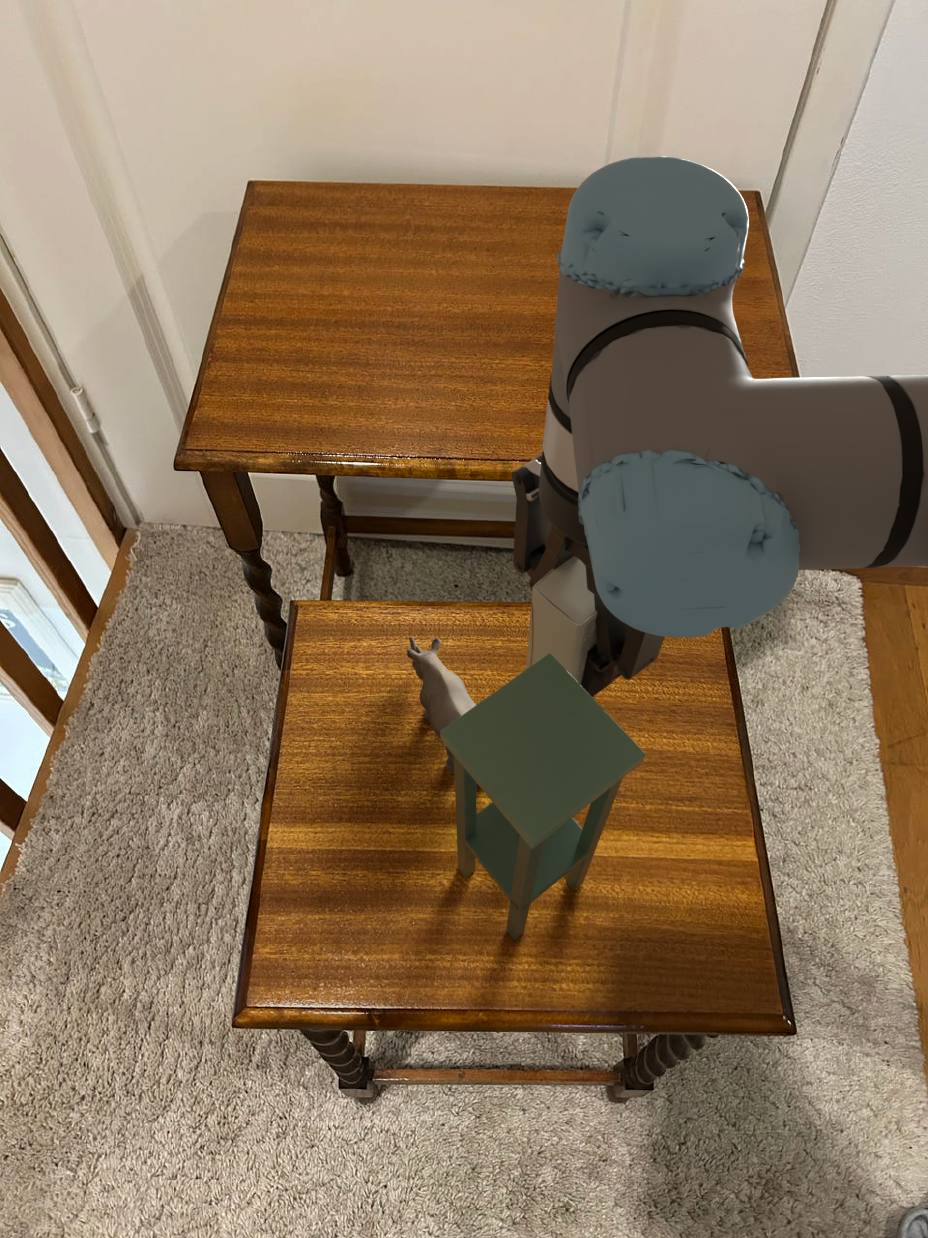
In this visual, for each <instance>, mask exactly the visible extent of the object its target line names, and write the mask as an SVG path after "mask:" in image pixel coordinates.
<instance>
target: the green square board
mask: <svg viewBox="0 0 928 1238" xmlns="http://www.w3.org/2000/svg"><path fill="white" fill-rule="evenodd" d="M440 735H441V739H440V741H441V742H442V743H443V744H444V746H445V745H446V747H447V748H448V749H449V750H450V751H451V753H452V754H453V755H454V756H455V757H456V759H457V760H458V761H459V762H460V763H461V765H462V766H463V767H464V768H465V769H466V771H467V772H468V773H469V774H470V775H471V777H472V778H473V779H474V780H475V781H476V783H477V785H478V786H479V787H480V789H481V790H482V791H483V792H484V794H485V795H486V796H487V797H488V799H489V800H490V801H491V803H492V802H493V803H494V804H495V806H496V807H497V808H498V809H499V810H500V812H501V813H502V814H503V815H504V816H505V818H506V819H507V820H508V821H509V822H510V824H511V825H512V826H513V827H514V828H515V830H516V831H517V832H518V833H519V834H520V836H521V837H522V838H523V839H524V840H525V842H526V843H527V844H528V845H529V846H530V848H531V849H534V848H535V847H536V846H538V845H539V844H540V843H541V842H543V841H544V840H545V839H546V838H548V837H549V836H550V835H551V834H553V833H554V832H555V831H556V830H558V829H559V828H560V827H562V826H563V825H564V824H565V823H567V822H568V821H569V820H570V819H572V818H573V819H574V817H576V816H577V815H578V814H579V813H580V812H582V811H583V810H584V809H586V808H587V807H588V806H590V804H591V803H592V802H593V801H594V800H596V799H597V798H598V797H599V796H601V795H602V794H603V793H604V792H606V791H607V790H608V789H609V788H611V787H612V786H613V785H615V784H616V783H617V782H618V781H620V780H621V779H622V778H623V779H624V778H625V777H626V776H627V775H629V774H630V773H631V772H632V771H634V769H636V768H637V767H639V766H640V765H642V763H643V761H644V760H645V757H646V752H645V751H644V750H643V749H642V748H641V747H640V746H639V744H637V743H636V741H635V740H633V738H631V737H630V735H629V734H627V732H626V731H625V730H624V729H623V728H622V727H621V725H619V724H618V723H617V722H616V721H615V720H614V718H613V717H612V716H611V715H610V714H609V713H608V712H607V711H606V710H605V709H604V708H603V707H602V705H600V703H598V701H596V699H594V697H591V696H590V694H589V693H588V692H587V691H586V690H585V689H584V688H583V687H582V686H581V685H580V684H579V683H578V682H577V681H576V680H575V679H574V678H573V677H572V675H571V674H570V673H569V672H568V671H567V670H566V669H565V668H564V667H563V666H562V665H561V664H560V663H559V662H558V661H557V660H556V659H555V658H554V656H553V655H552V654H551V653H549V654H548V655H546V656H545V657H543V658H542V659H541V660H539V661H538V662H536V663H535V664H534V665H532V666H531V667H529V668H528V669H527V670H526V669H525V670H524V671H522V672H521V673H520V674H518V675H517V676H515V677H514V678H512V679H511V680H509V681H508V682H507V683H505V684H504V685H503V686H500V688H498V689H497V690H495V691H494V692H493V693H491V694H490V695H489V696H487V697H486V698H484V699H483V700H481V701H480V702H479V703H478V704H476V706H475V707H473V708H472V709H470V710H469V711H468V712H466V713H465V714H463V715H462V716H461V717H459V718H458V719H456V720H455V721H453V722H452V723H451V724H449V725H448V726H446V727H445V728H444V729H442V730H441V731H440ZM623 779H622V780H623Z"/></svg>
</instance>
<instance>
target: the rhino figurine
mask: <svg viewBox="0 0 928 1238" xmlns="http://www.w3.org/2000/svg"><path fill="white" fill-rule="evenodd" d="M409 644H410V648H407V649H406V652H407V653H406V655H407V658H409V659H411V660H412V662H411V665H412V668H413V670H414V671H415V674H416V676H417V677H418V679H419V680H422V685H421V689H420V692H419V702H420V705H421V707H422V708H423V709H424V719H425V720H427V721H428V722H430V725H431V728H432V731H433V732H434V734H435V736H436V737H437V738H438V739H439V740H441V735H440V731H441V730H442V729H444V728H445V727H446V726H448V725H449V724H451V723H452V722H453V721H455V720H456V719H458V718H459V717H461V716H462V715H463V714H465V713H466V712H468V711H469V710H470V709H472V708H473V707H475V706H476V705H477V704H476V703H475V702H474V700H473V699H472V697H471V696H470V694H469V693H468V691H467V687H466V685H465V683H464V682H463V680H462V679H461V678H460V676H459V675H457V674H456V673H455V672H453V671H451V670H449V669H448V668H447V667H446V666H445V665H444V663H443V662H442V661H441V660H440V658H439V657H438V651H439V650H440V647H441V644H442V643H441V640H440V638H438V637H436V638H434V639H433V640H432V642H431V647H430V649H428V650H424V651H423V650H422V649H421V648H420V647H419V646H418V644H417V643H416V642H415V639H414V638H413V636H412V635H410V636H409ZM444 747H445V752H446V754H447V758H446V770H447V771H449V772H451V773H453V774H454V755H453V754H452V753H451V751H450V750H449V749H448V748H447V747H446V745H445V744H444Z"/></svg>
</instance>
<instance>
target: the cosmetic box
mask: <svg viewBox="0 0 928 1238" xmlns="http://www.w3.org/2000/svg"><path fill="white" fill-rule="evenodd" d="M596 617H597V611H596V610H595V602H594V594H593V593H592V592H590V591H589V590H588V589H587V578H586V566H585V565H584V564H583V562H582V561H581V560H579V559H578V558H577V557H575V556H573V557H572V558H570V559H569V560H567V561H566V562H564V563H563V564H562V565H560V566H559V567H557V568H556V569H552V570H551V571H550V572H548V573H547V574H546V575H545V576H544V577H543V578H542V579H541V580H539V581H538V582H537V583H536V584H535V585H534V586H533V590H531V603H530V616H529V629H528V641H527V652H526V665H525V670H527V669H528V668H529V667H531V666H532V665H534V664H535V663H536V662H538V661H539V660H541V659H542V658H543V657H545V656H546V655H548V654H549V653H551V654H552V655H553V656H554V658H555V659H556V660H557V661H558V662H559V663H560V664H561V665H562V666H563V667H564V668H565V669H566V670H567V671H568V672H569V673H570V674H571V675H572V677H573V678H574V679H575V680H576V681H577V682H578V683H579V684H580V685H581V682H582V677H583V673H584V668H585V663H586V659H587V654H588V651H589V650H591V649H592V648H593V647H595V646H596V645H597V633H596Z"/></svg>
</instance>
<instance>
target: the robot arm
mask: <svg viewBox="0 0 928 1238" xmlns="http://www.w3.org/2000/svg"><path fill="white" fill-rule="evenodd" d="M749 227H750V219H749V211H748V207H747V204H746V202H745V200H744V198H743V196H742V194H741V193H740V191H739V190H738V189H737V188H736V187H735V185H734V184H733V183H732V182H731V181H730V180H728V179H727V178H726V177H724V176H723V175H722V174H721V173H719V172H717V171H715V170H714V169H712V168H711V167H710V168H709V167H708V166H705V165H703V164H701V163H699V162H695V161H692V160H688V159H685V158H681V157H675V156H665V155H662V156H661V155H660V156H652V157H651V156H644V157H643V156H635V157H628V158H624V159H620V160H616V161H614V162H611V163H609V164H607V165H604V166H602V167H601V168H599V169H597V170H595V171H594V172H592V173H591V174H590V175H589V176H587V177H586V178H585V179H584V180H583V181H582V182H581V183H580V185H579V186H578V187H577V189H576V190H575V192H574V194H573V195H572V197H571V199H570V202H569V204H568V209H567V216H566V221H565V229H564V233H563V234H564V235H563V241H562V245H561V249H560V250H559V251H558V252H557V258H556V262H557V266H559V274H558V275H559V276H558V288H557V300H556V311H555V323H554V325H555V327H554V337H553V338H554V339H553V352H552V353H553V354H552V363H551V373H550V378H549V379H550V380H549V385H548V395H547V405H546V413H545V414H546V415H545V422H544V428H543V429H544V430H543V438H542V445H541V447H542V452H541V454H540V455H538V456H536V457H535V458H533V459H531V460H530V461H528V462H526V463H525V464H523V465H522V466H520V467H518V468H516V469H515V470H514V471H512V472H511V480H512V484H513V488H514V493H515V497H516V505H515V518H514V519H515V521H514V522H515V523H514V538H513V553H512V554H513V555H512V556H513V557H512V559H513V560H512V564H513V567H514V568H515V570H516V571H517V572H518V573H519V574H521V575H523V574H525V573H526V574H527V575H528V577H529V578H530V579H529V583H528V585H529V588H530V590H531V591H532V590H533V586H534V585H535V584H536V583H537V582H538V581H539V580H541V579H542V578H543V577H544V576H545V575H546V574H547V573H548V572H550V571H551V570H552V569H556V568H557V567H559V566H560V565H562V564H563V563H564V562H566V561H567V560H569V559H570V558H572V557H573V556H575V557H577V558H578V559H579V560H581V561H582V562H583V564H584V565H585V566H586V578H587V589H588V590H589V591H590V592H592V593H593V594H594V602H595V610H596V611H597V617H596V633H597V645H596V646H595V647H593V648H592V649H591V650H589V651H588V654H587V659H586V663H585V668H584V673H583V677H582V682H581V686H582V687H583V688H584V689H585V690H586V691H587V692H588V693H589V694H590V696H591V697H592V698H594V697H596V695H597V694H599V693H600V692H602V691H603V690H604V689H606V688H607V687H608V686H610V685H611V684H613V682H614V681H615V680H617V679H619V677H621V676H622V678H623V679H625V680H627V681H630V680H631V679H632V678H634V677H635V676H637V675H638V674H639V673H641V671H643V670H645V669H646V668H647V667H649V666H650V665H651V664H652V663H654V662H655V661H656V660H658V657H659V655H660V651H661V648H662V646H663V644H664V641H665V638H666V637H667V638H685V639H687V638H688V639H689V638H700V637H707V636H708V635H711V634H712V633H713V632H714V631H716V630H719V629H722V628H734V629H738V628H741V627H744V626H747V625H749V624H752V623H754V622H756V621H758V620H759V619H762V618H763V617H764V616H766V615H767V614H769V613H770V612H772V611H774V610H775V609H776V608H777V607H778V606H779V605H780V604H781V603H782V602H783V601H784V600H785V599H786V598H787V597H788V595H790V593H791V592H792V590H793V588H794V587H795V584H796V582H797V580H798V575H799V573H800V572H799V571H814V570H815V571H816V570H849V569H852V570H853V569H875V568H919V567H920V568H924V567H926V568H928V374H908V375H907V374H906V375H905V374H904V375H864V376H828V377H827V376H823V377H822V376H821V377H819V376H818V377H778V378H777V377H776V378H775V377H774V378H753V375H752V373H751V371H750V369H749V362H748V361H747V360H748V359H747V356H746V353H745V351H744V347H743V344H742V339H741V337H740V333H739V330H738V327H737V323H736V319H735V315H734V310H733V294H734V288H735V285H736V282H737V280H738V279H739V278H741V276H742V273H743V270H744V268H745V265H746V263H745V260H744V257H745V256H744V255H745V251H746V245H747V238H748V234H749Z"/></svg>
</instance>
